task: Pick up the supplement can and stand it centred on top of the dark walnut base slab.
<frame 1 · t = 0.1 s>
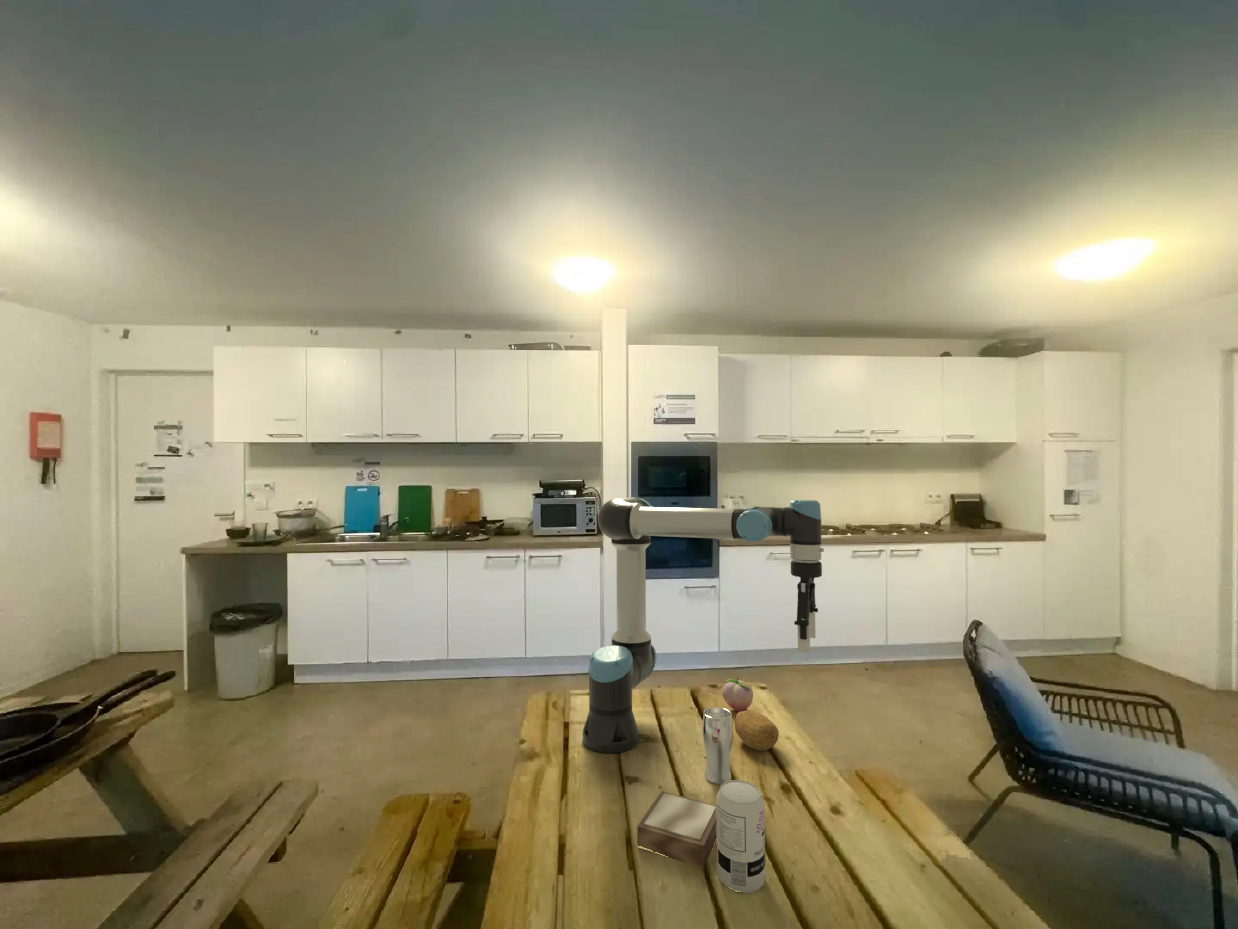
hand: (807, 644, 137), 28 cm above the table, fingers open, 13 cm apart
metal tumbler: (718, 778, 127), on the table
potato: (755, 747, 142), on the table
supplement can: (740, 879, 94), on the table
decorative fruit: (738, 711, 164), on the table
base: (681, 837, 105), on the table
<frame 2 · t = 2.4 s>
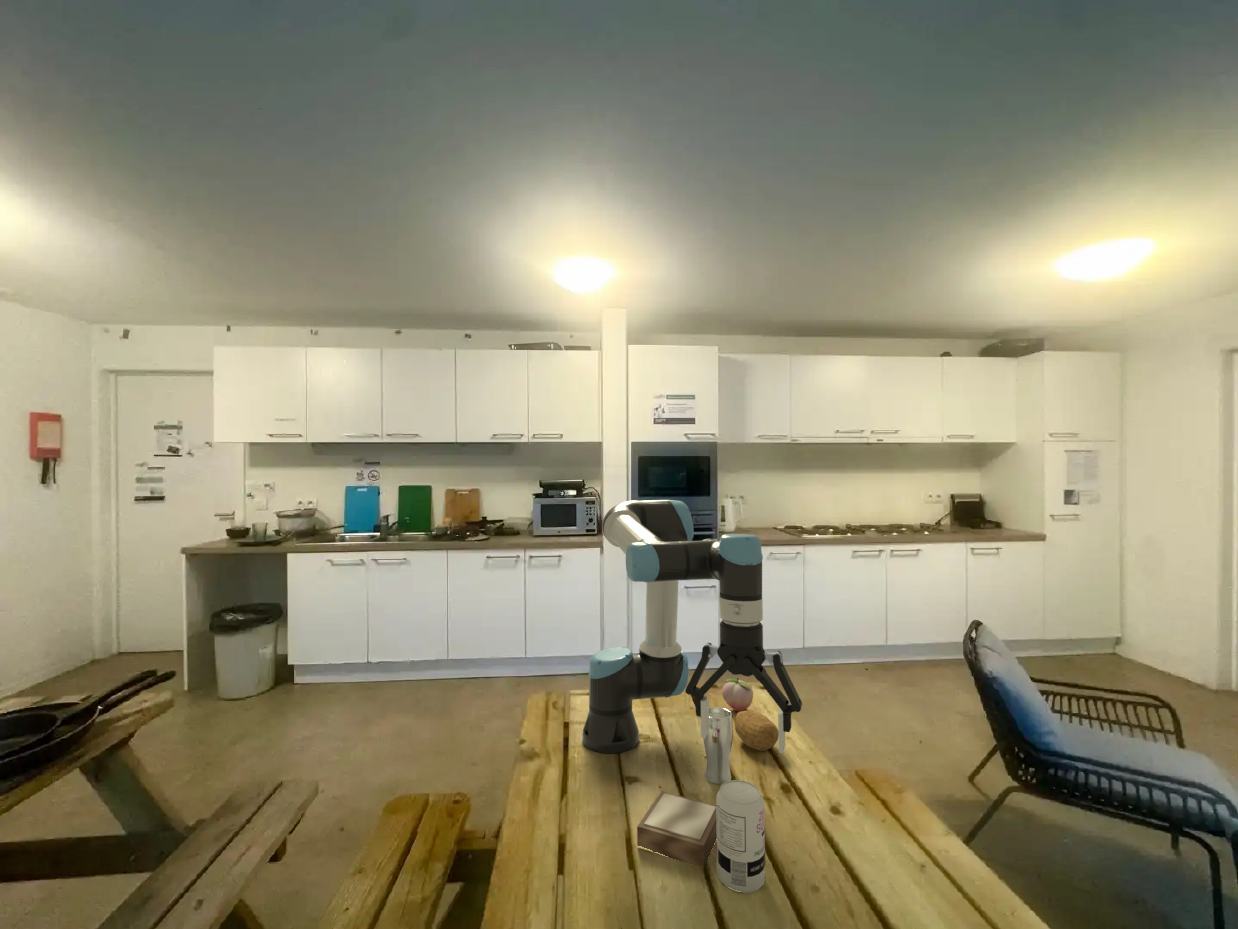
hand: (742, 742, 96), 23 cm above the table, fingers open, 13 cm apart
nothing on the table moved.
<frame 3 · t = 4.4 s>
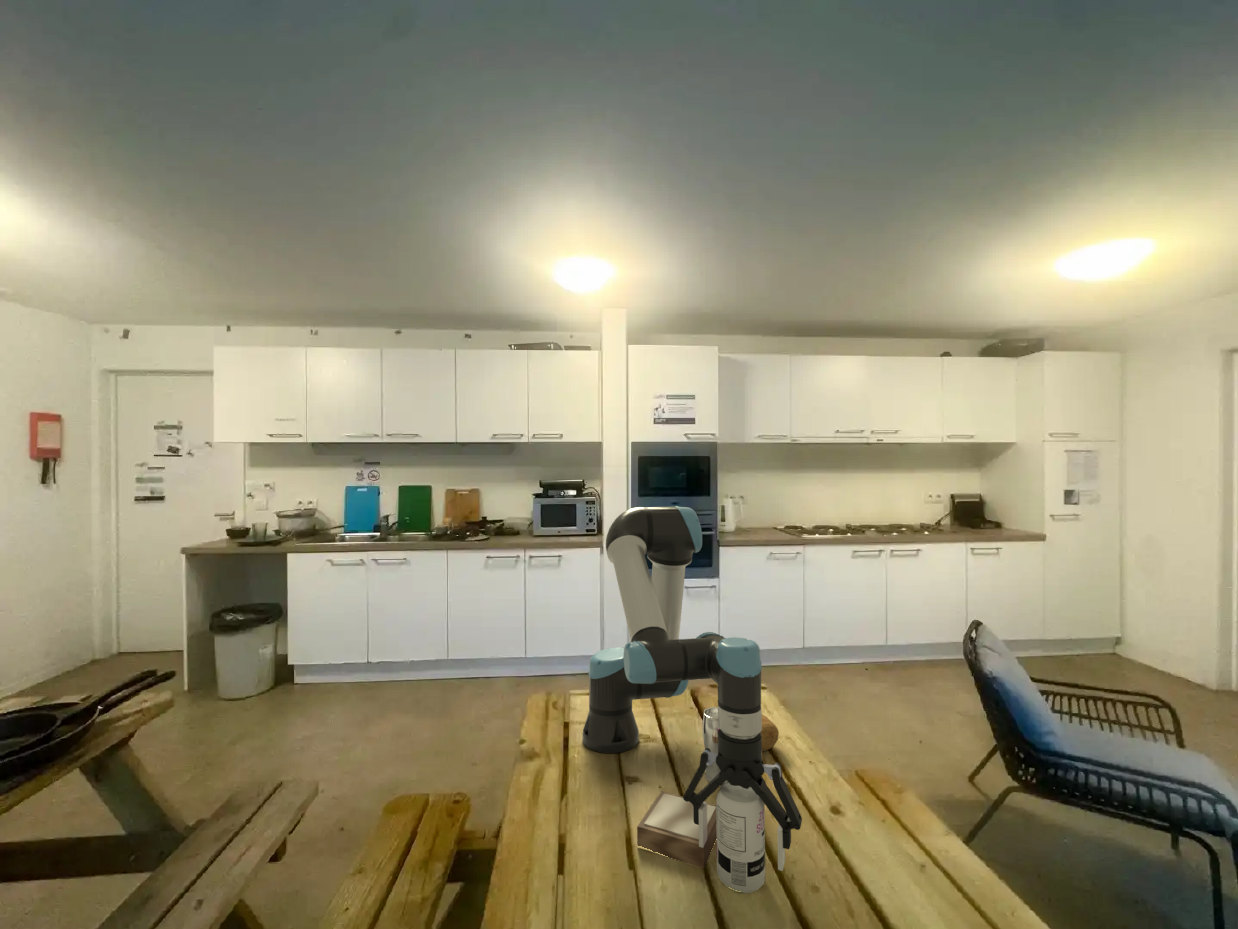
hand: (741, 854, 94), 4 cm above the table, fingers open, 13 cm apart
nothing on the table moved.
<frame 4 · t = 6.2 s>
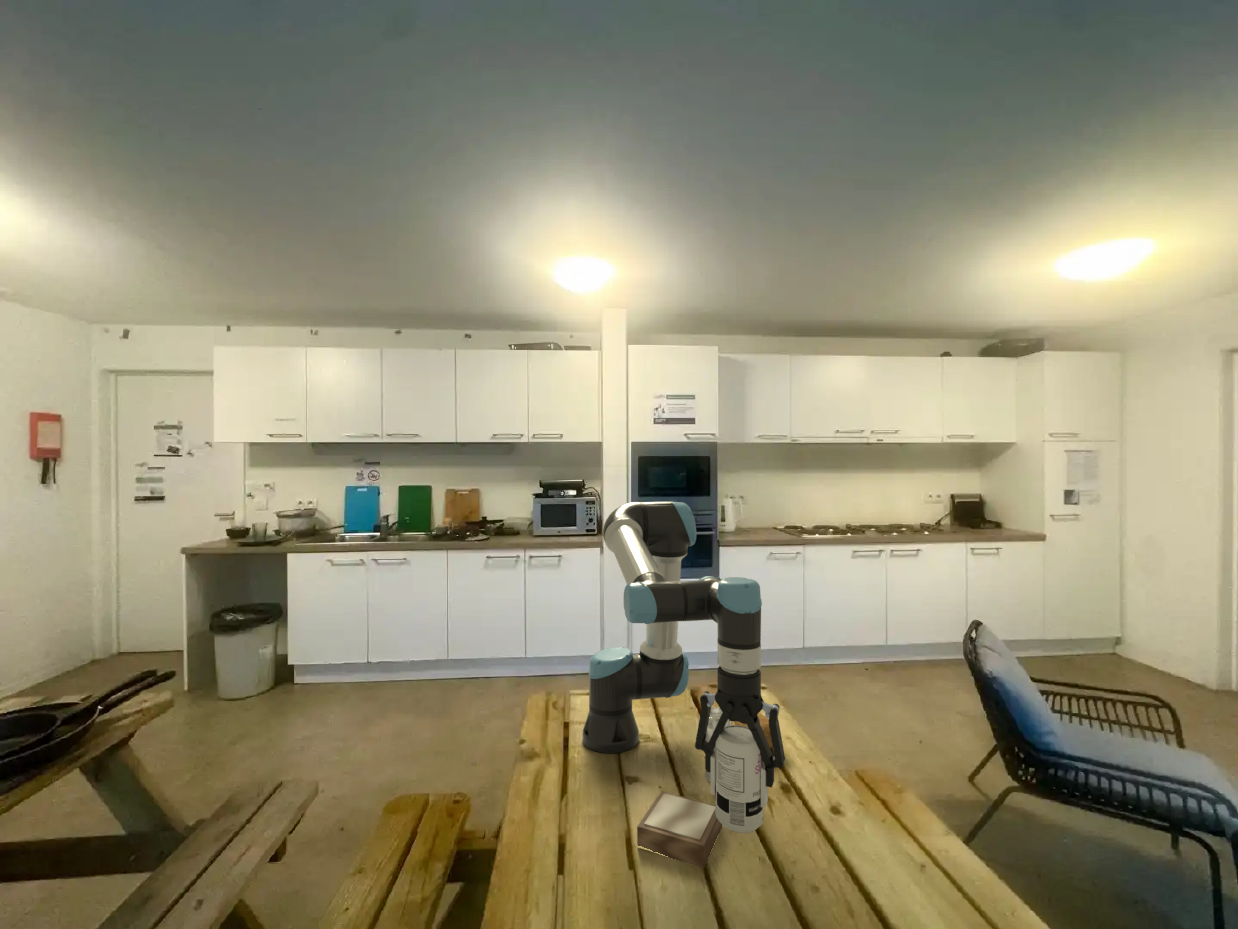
hand: (739, 796, 95), 14 cm above the table, fingers closed on supplement can, 8 cm apart
supplement can: (739, 821, 95), point 9 cm above the table, touching gripper
everything else where it was.
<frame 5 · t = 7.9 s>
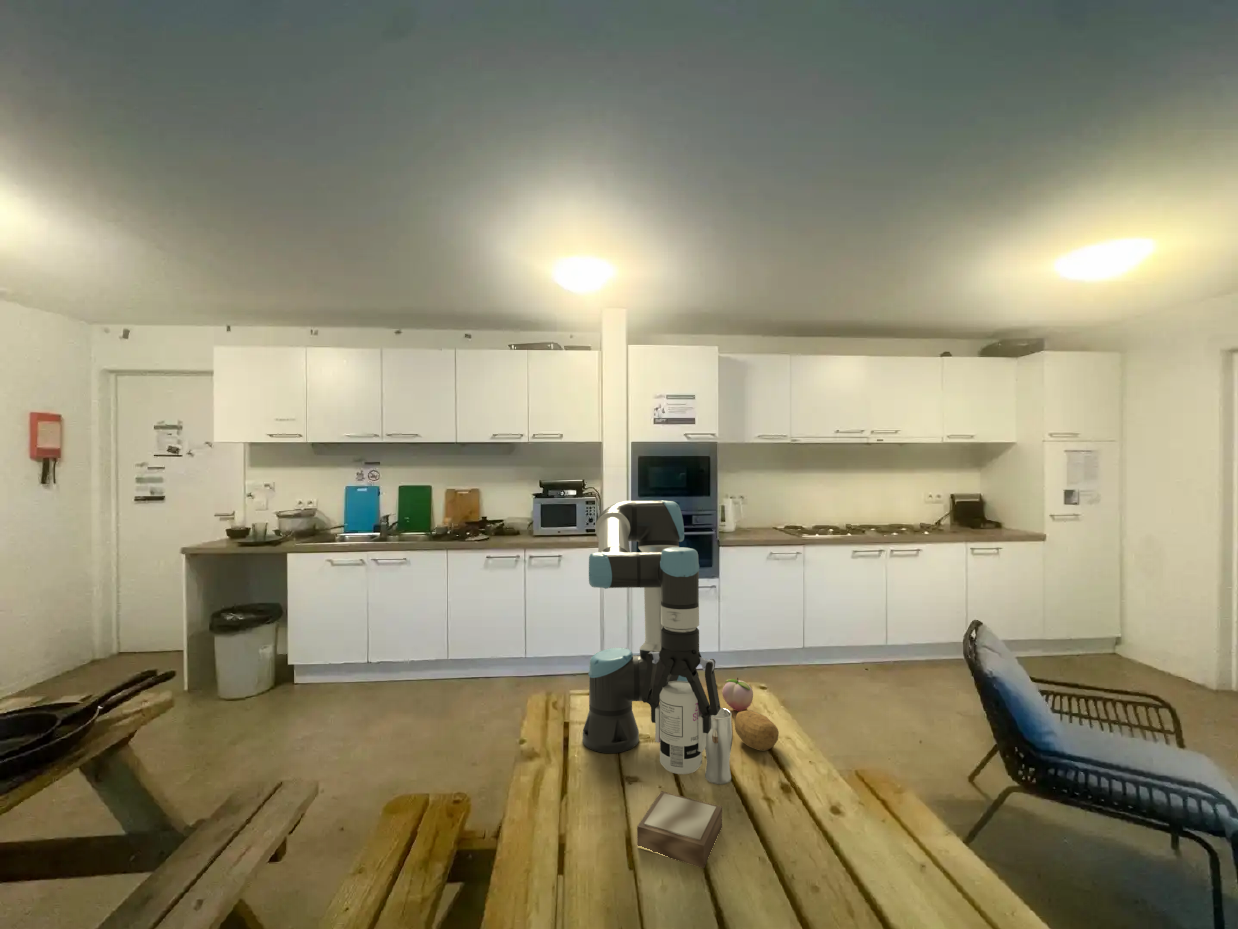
hand: (680, 743, 106), 18 cm above the table, fingers closed on supplement can, 8 cm apart
supplement can: (680, 766, 106), point 14 cm above the table, touching gripper
everything else where it was.
when the fingers open (8 cm above the table, at t = 10.1 s): supplement can stays where it is, resting on base.
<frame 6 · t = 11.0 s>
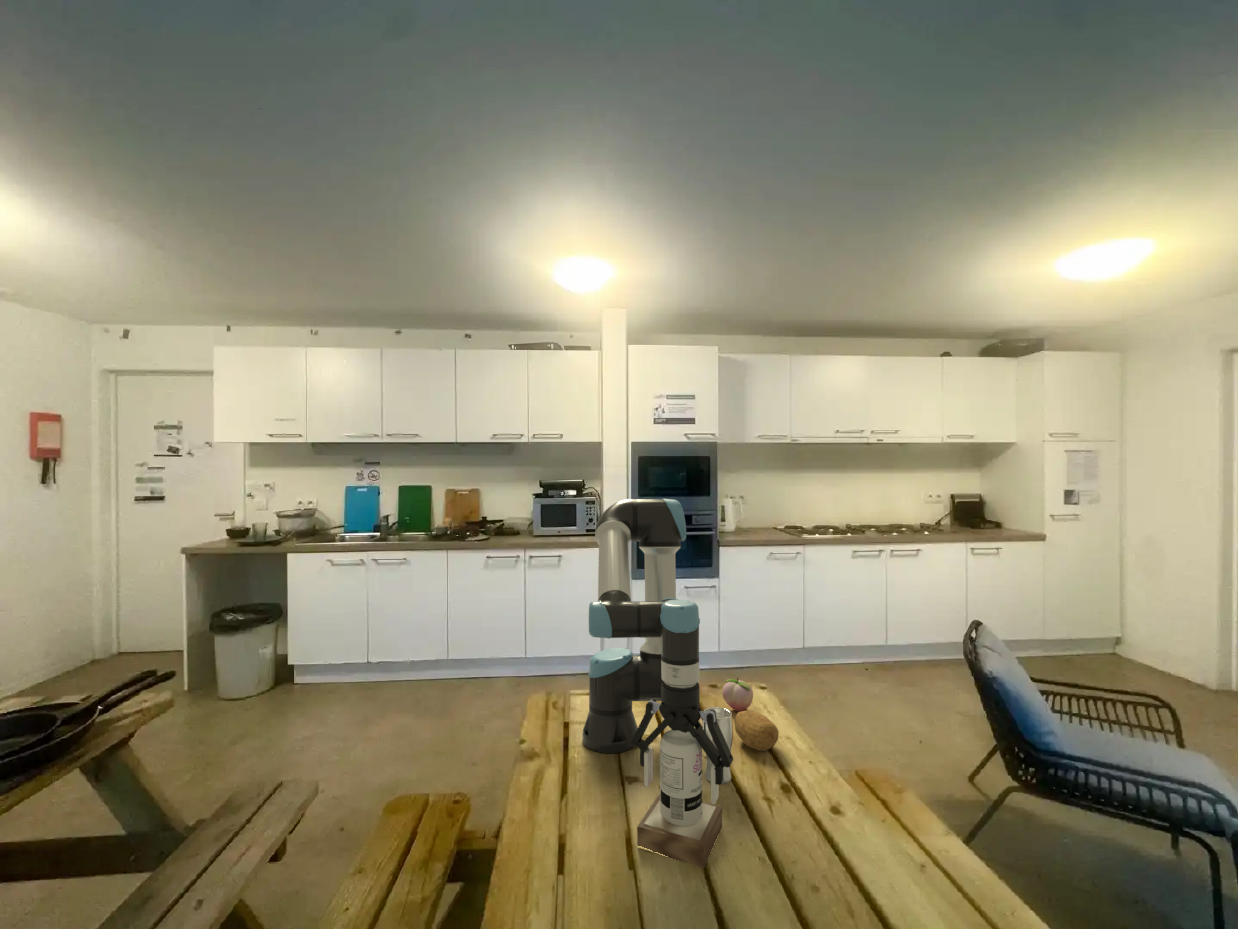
hand: (680, 791, 106), 9 cm above the table, fingers open, 13 cm apart
supplement can: (681, 816, 105), point 4 cm above the table, touching base
everything else where it was.
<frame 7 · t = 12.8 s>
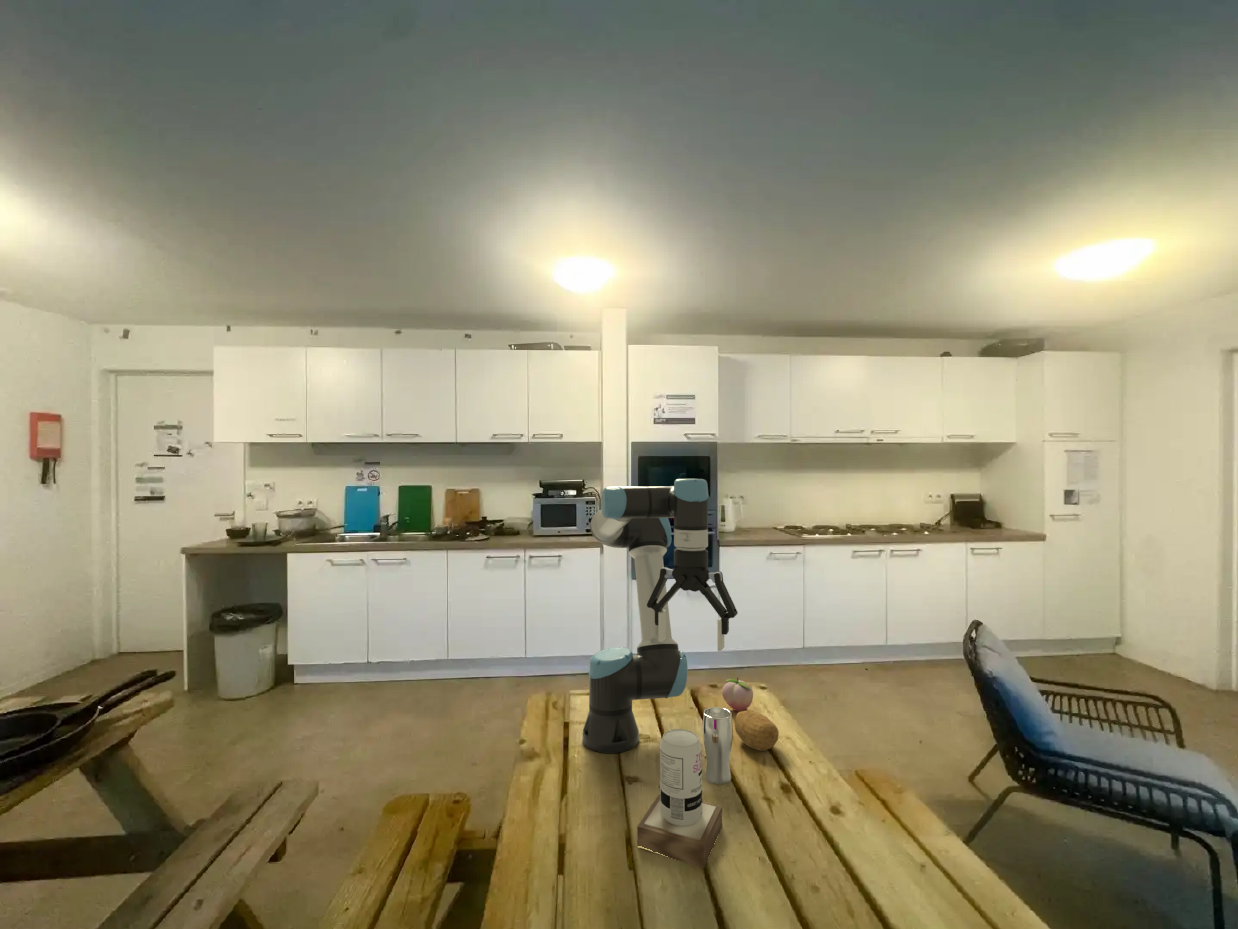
hand: (690, 644, 119), 33 cm above the table, fingers open, 13 cm apart
nothing on the table moved.
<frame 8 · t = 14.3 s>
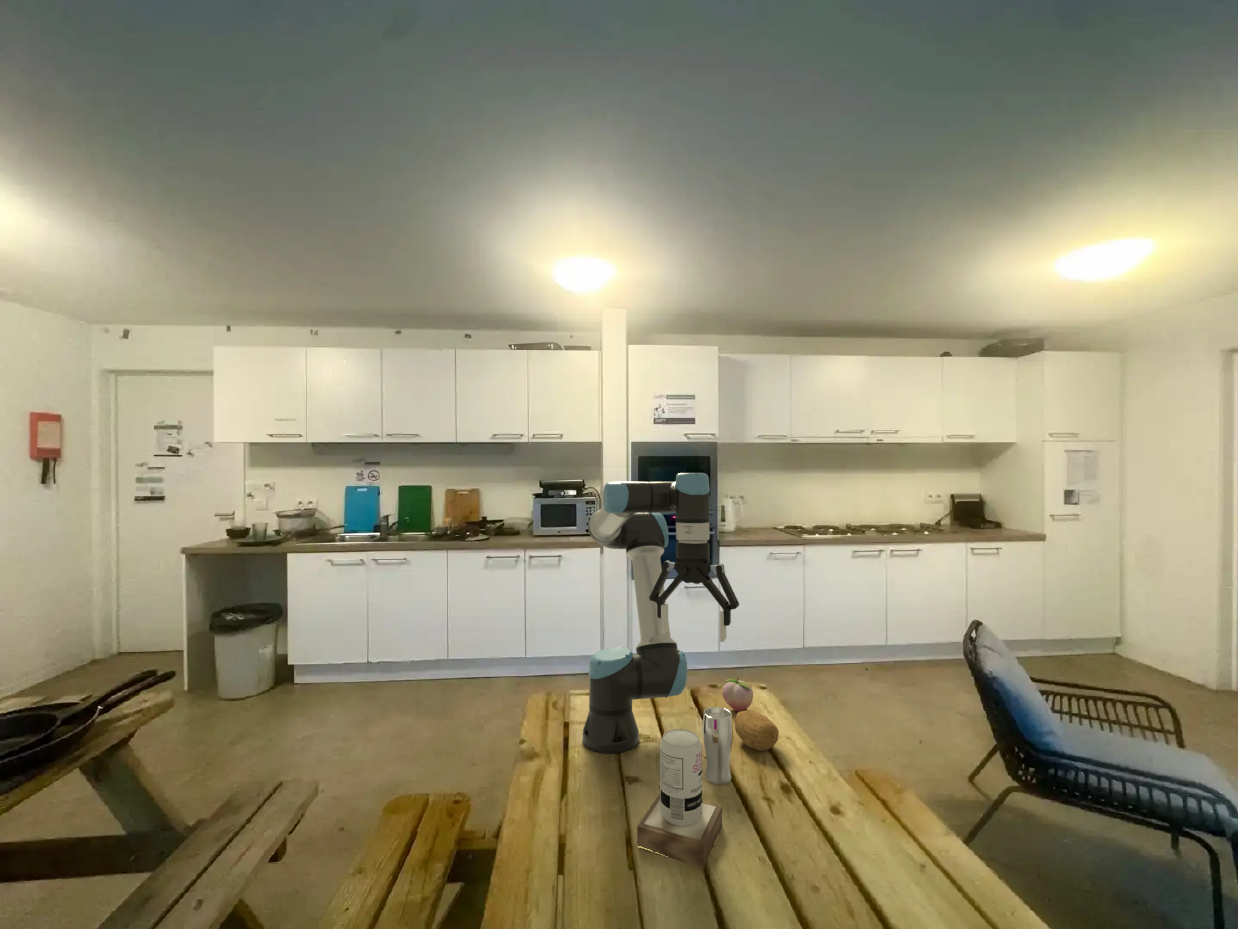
hand: (693, 636, 121), 35 cm above the table, fingers open, 13 cm apart
nothing on the table moved.
at the end: supplement can inside the target area on the base (0.1 cm from its centre), point 4.1 cm above the base's base; supplement can tilted 0°; the gripper is holding nothing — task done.
